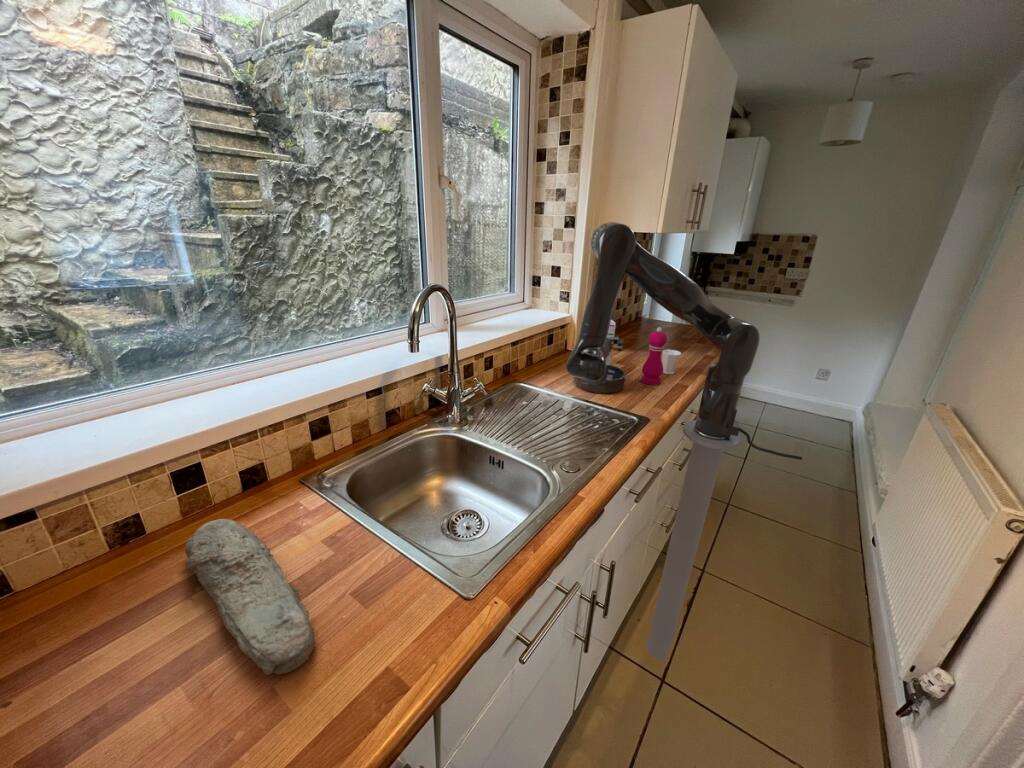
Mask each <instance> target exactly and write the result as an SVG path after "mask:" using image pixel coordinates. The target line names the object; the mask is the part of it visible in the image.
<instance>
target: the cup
mask: <svg viewBox="0 0 1024 768" xmlns="http://www.w3.org/2000/svg"><path fill="white" fill-rule="evenodd" d="M681 356H682V352H681V351H678V350H676V349H664V350H663V351H662V357H661V361H662V365H663V374H666V375H674V374H675V371H676V369H677V367H678V365H679V362H680V359H681Z"/></svg>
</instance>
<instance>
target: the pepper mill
mask: <svg viewBox="0 0 1024 768" xmlns="http://www.w3.org/2000/svg"><path fill="white" fill-rule="evenodd" d="M648 342H649V345H648V350H649V354H648V357H647V358H646V359H645V362H644V363H643V365H642V368H641V372H642V374H643V375H641V382H642V383H644V384H646V385H649V386H650V385H651V386H656V385H659V384H660V383H661V376H662V375H663V374H664V373H663V364H662V355H663V350H665V345H666V344H667V342H668V336H667V334H666V333H665V332H663V328H662V327H660V326H659V327H657V328H656V331H653V332H651V333H650V334H649V336H648Z"/></svg>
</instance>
